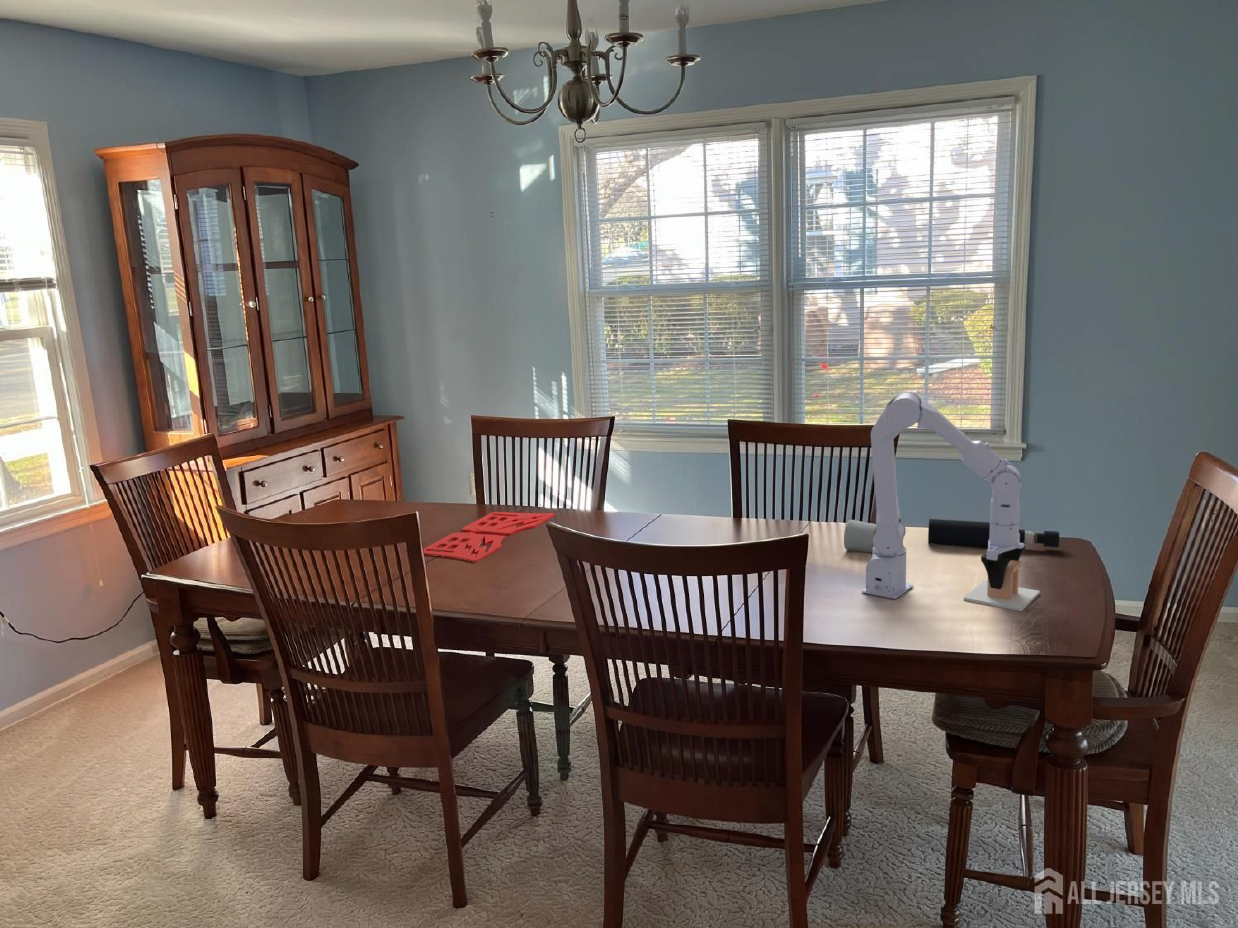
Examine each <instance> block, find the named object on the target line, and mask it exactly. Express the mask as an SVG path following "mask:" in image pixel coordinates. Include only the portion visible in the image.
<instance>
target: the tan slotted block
mask: <svg viewBox="0 0 1238 928" xmlns="http://www.w3.org/2000/svg"><path fill="white" fill-rule="evenodd" d="M1020 568H1022V561H1021V560H1019V561H1016V560H1011V561H1010V562H1009V564H1008V566H1007V568H1006V571H1005V575H1004V581H1003V585H1002V588H1001V589H995V588H991V587H990V583H989V578H988V577H987V582H988V589H987V596H991V597H996V598H1001V599H1007V600H1011V599H1012V594H1017V593H1018V587H1019V580H1020V579H1019V578H1020V577H1019V576H1020Z"/></svg>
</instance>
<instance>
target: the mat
mask: <svg viewBox="0 0 1238 928" xmlns="http://www.w3.org/2000/svg"><path fill="white" fill-rule="evenodd" d="M987 589H988V580H983V581H982V582H981V583H980V584H978V585H977V586H976V587H974V589H972V590H971V591H970V592H968V594H966V595H965V596H964V597H963V601H965V602H966V601H967V602H972V603H977V604H981V605H986V606H992V607H997V608H1001V609H1008V610H1012V611H1018V612H1023V610H1025V608H1027V607H1028V605H1030V604H1032V602H1033V601H1034V600H1035V599H1036V598H1037V597H1038V596H1039V595H1040V594H1041V591H1040V590H1037V589H1032V588H1031V589H1030V588H1026V587H1025V588H1024V587H1019V586H1018V593H1017V594H1012V599H1011V600H1007V599H1001V598H996V597H991V596H987Z"/></svg>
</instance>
